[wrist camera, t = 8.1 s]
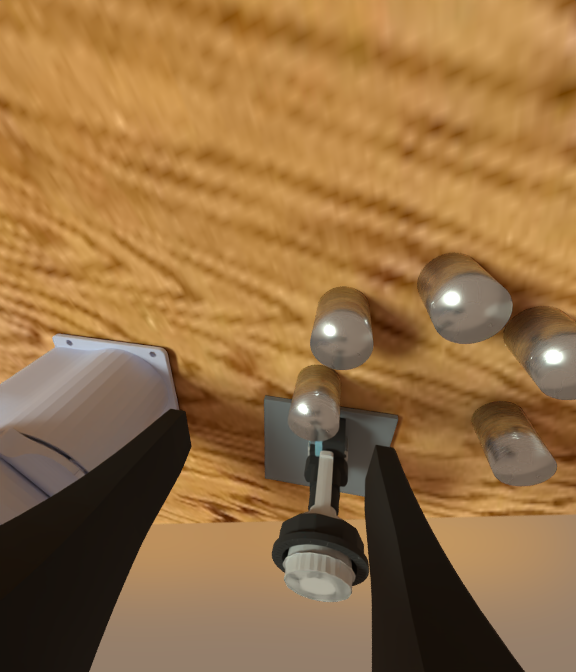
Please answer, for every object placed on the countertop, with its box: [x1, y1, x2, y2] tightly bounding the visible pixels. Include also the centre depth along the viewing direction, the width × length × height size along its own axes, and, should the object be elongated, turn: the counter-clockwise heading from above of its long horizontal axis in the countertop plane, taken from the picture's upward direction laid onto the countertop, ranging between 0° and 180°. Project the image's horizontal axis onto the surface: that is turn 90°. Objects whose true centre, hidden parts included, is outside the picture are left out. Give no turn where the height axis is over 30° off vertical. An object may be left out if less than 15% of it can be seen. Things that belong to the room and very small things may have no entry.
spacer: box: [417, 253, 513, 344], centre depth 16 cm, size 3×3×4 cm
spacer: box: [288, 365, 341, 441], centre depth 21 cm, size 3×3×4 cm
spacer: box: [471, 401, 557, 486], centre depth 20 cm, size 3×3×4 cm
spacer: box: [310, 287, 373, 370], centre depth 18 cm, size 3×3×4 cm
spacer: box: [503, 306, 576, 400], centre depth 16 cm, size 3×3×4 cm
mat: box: [264, 396, 398, 497], centre depth 26 cm, size 10×10×1 cm
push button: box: [272, 418, 369, 602], centre depth 21 cm, size 7×5×10 cm
